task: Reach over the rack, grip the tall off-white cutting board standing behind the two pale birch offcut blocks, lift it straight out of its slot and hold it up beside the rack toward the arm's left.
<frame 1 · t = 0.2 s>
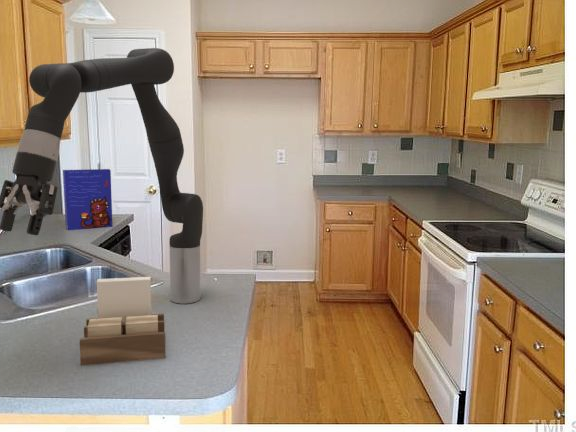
hand: (18, 232, 102), 31 cm above the worktop, tool tilted 20°, fingers open, 8 cm apart
cutting board: (126, 343, 122), point 1 cm above the worktop, touching rack
offcut block a: (106, 355, 115), point 1 cm above the worktop, touching rack
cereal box: (89, 227, 262), on the worktop
rack: (125, 357, 117), on the worktop
offcut block b: (142, 352, 117), point 1 cm above the worktop, touching rack
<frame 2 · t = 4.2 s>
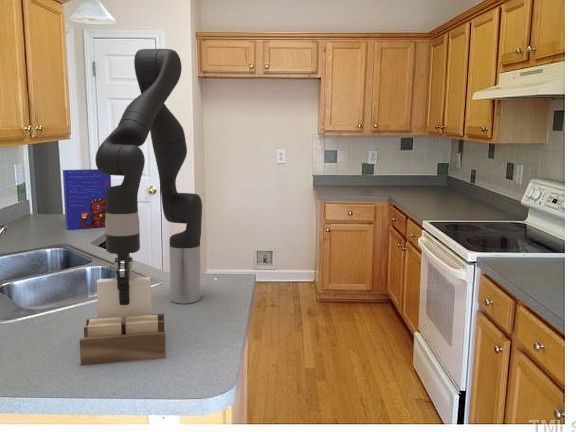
hand: (124, 302, 120), 12 cm above the worktop, tool pointing down, fingers closed on cutting board, 2 cm apart
cutting board: (126, 343, 122), point 1 cm above the worktop, touching gripper
everything else where it was.
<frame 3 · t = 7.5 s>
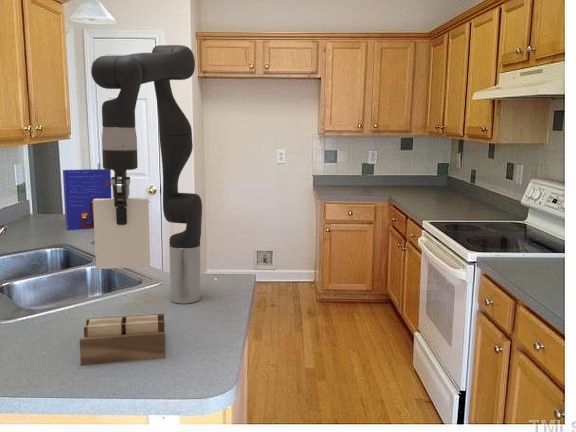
hand: (122, 223, 117), 31 cm above the worktop, tool pointing down, fingers closed on cutting board, 2 cm apart
cutting board: (123, 266, 119), point 20 cm above the worktop, touching gripper
everything else where it was.
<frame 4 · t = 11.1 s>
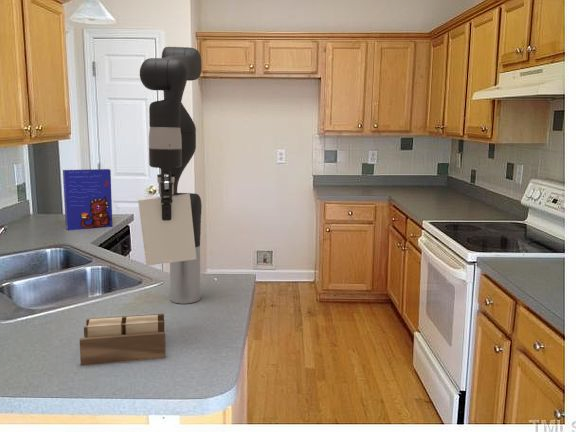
hand: (166, 218, 122), 31 cm above the worktop, tool pointing down, fingers closed on cutting board, 2 cm apart
cutting board: (171, 261, 124), point 20 cm above the worktop, tilted 5°, touching gripper
everything else where it was.
at the end: cutting board inside the target area (1.1 cm from its centre), point 20.4 cm above the worktop; the gripper is holding cutting board; offcut block b moved 0.1 cm from its start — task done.
